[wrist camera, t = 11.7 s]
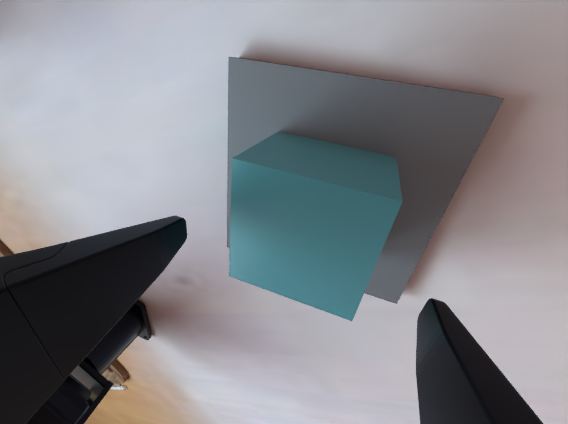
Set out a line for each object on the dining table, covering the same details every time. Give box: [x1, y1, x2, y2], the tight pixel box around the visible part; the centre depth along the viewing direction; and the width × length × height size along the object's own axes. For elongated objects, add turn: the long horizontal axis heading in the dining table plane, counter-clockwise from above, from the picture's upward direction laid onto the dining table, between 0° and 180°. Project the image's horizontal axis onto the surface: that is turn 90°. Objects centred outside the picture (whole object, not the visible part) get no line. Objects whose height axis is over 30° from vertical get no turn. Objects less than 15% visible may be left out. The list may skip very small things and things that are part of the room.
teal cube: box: [229, 131, 402, 321], centre depth 12 cm, size 6×6×5 cm
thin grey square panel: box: [227, 57, 504, 304], centre depth 13 cm, size 12×12×4 cm
